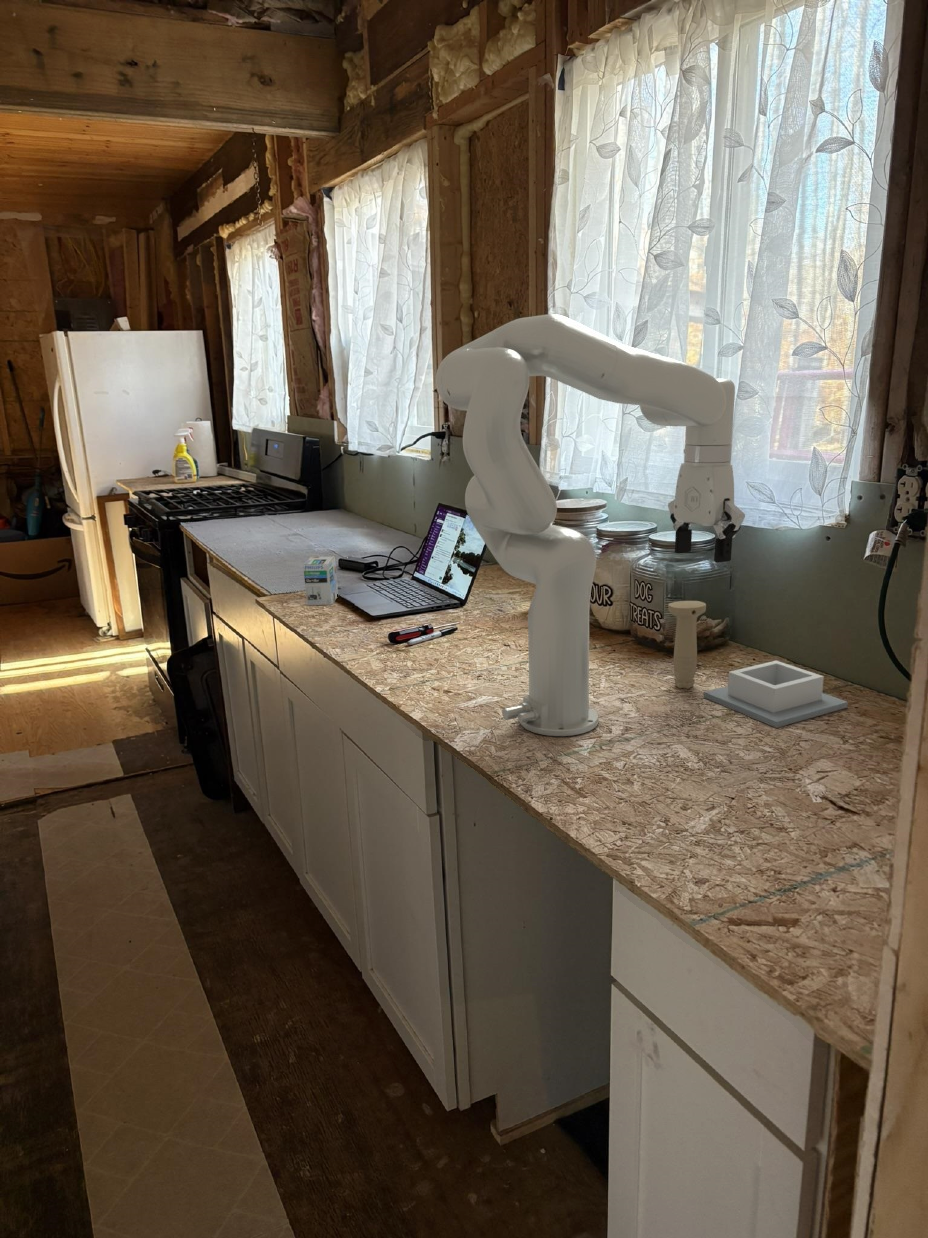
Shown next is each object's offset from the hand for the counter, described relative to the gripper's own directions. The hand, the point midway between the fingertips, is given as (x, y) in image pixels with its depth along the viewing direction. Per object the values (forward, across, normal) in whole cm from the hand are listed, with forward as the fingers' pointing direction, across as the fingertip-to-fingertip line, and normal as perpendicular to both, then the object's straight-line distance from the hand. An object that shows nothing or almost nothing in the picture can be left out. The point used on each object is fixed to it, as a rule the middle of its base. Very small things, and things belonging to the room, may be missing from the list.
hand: (702, 556), depth 149 cm
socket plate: (+23, +14, +5) cm, 27 cm away
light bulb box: (+24, -99, -36) cm, 108 cm away
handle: (+23, 0, -2) cm, 24 cm away
